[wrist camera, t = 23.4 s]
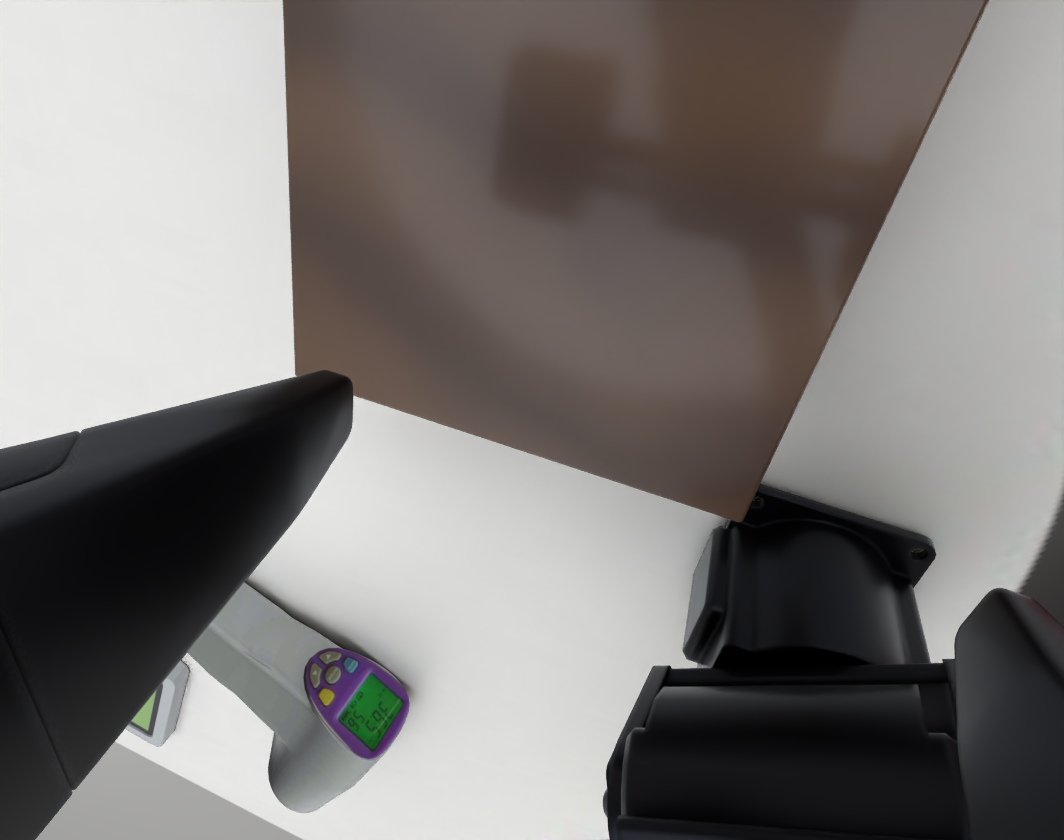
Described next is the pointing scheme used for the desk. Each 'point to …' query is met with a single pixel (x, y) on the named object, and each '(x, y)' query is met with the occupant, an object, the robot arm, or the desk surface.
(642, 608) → the desk surface
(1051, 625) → the robot arm
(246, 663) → the infrared thermometer
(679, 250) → the drawer unit
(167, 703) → the handheld gaming console
